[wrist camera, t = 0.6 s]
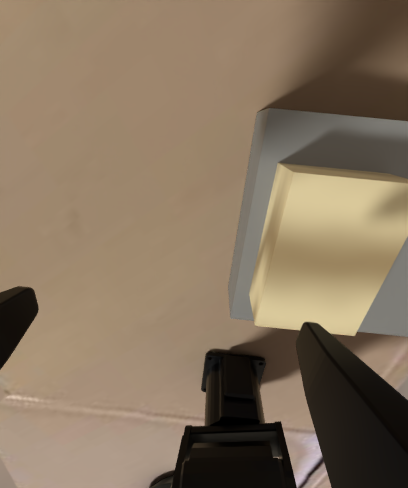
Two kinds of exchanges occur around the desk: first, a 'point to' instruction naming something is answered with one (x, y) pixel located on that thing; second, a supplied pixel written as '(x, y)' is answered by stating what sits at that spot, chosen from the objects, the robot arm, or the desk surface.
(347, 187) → the maple block
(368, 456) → the robot arm
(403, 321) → the gray deck
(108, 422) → the desk surface
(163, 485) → the electronic game
